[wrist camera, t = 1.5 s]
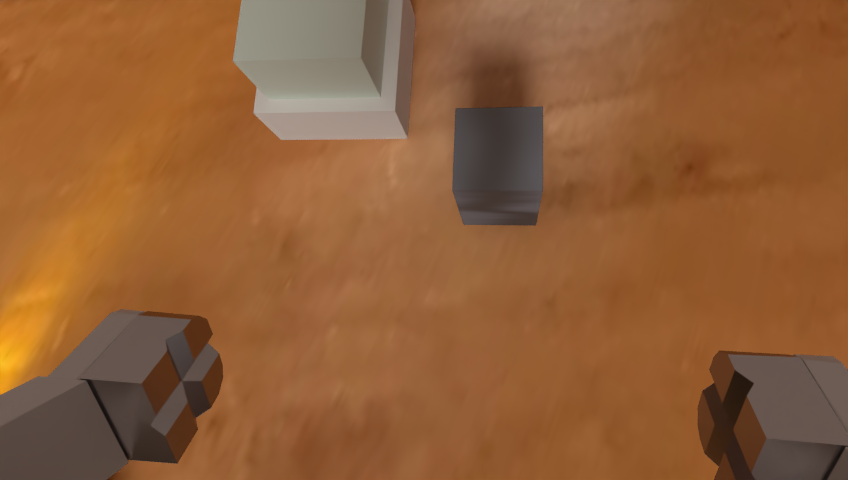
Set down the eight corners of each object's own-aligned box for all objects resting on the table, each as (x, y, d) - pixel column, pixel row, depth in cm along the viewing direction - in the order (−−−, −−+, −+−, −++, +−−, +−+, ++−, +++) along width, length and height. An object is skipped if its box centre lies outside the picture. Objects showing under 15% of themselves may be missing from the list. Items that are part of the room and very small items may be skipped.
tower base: (416, 21, 43) (404, -22, 38) (408, 140, 41) (394, 110, 36) (295, 26, 45) (269, -14, 40) (282, 141, 42) (253, 113, 38)
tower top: (389, -9, 38) (371, -62, 33) (380, 97, 36) (360, 57, 32) (281, -3, 39) (249, -54, 35) (268, 99, 38) (232, 61, 33)
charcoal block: (536, 157, 39) (543, 106, 31) (535, 225, 38) (542, 190, 30) (465, 157, 40) (455, 108, 32) (463, 224, 39) (452, 190, 31)
